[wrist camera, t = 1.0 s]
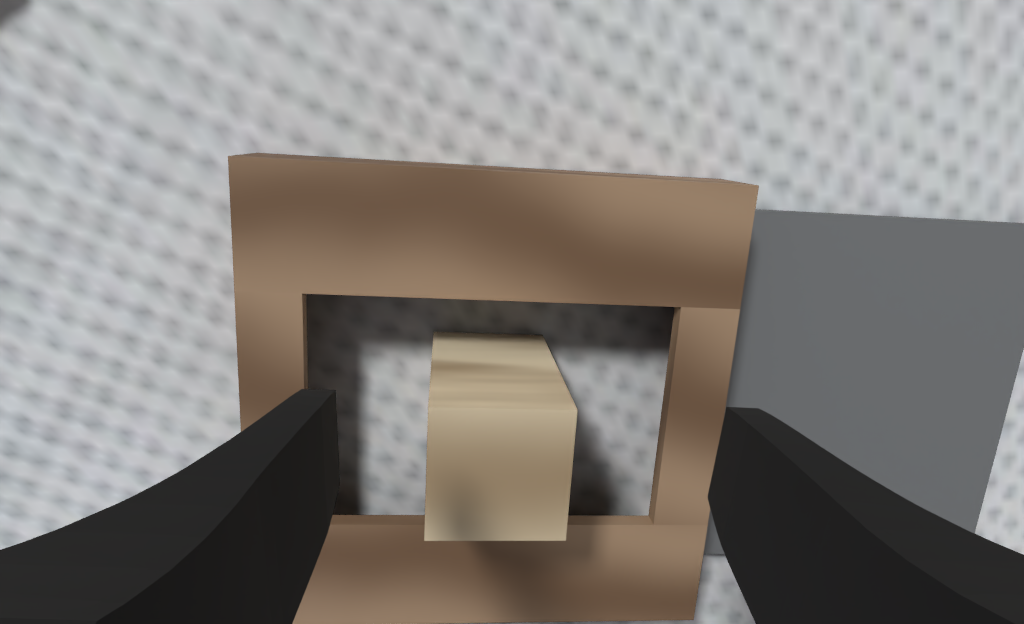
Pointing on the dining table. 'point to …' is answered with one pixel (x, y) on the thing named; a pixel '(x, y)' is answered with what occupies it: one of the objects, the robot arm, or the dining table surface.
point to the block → (497, 440)
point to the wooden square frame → (501, 277)
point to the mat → (885, 346)
